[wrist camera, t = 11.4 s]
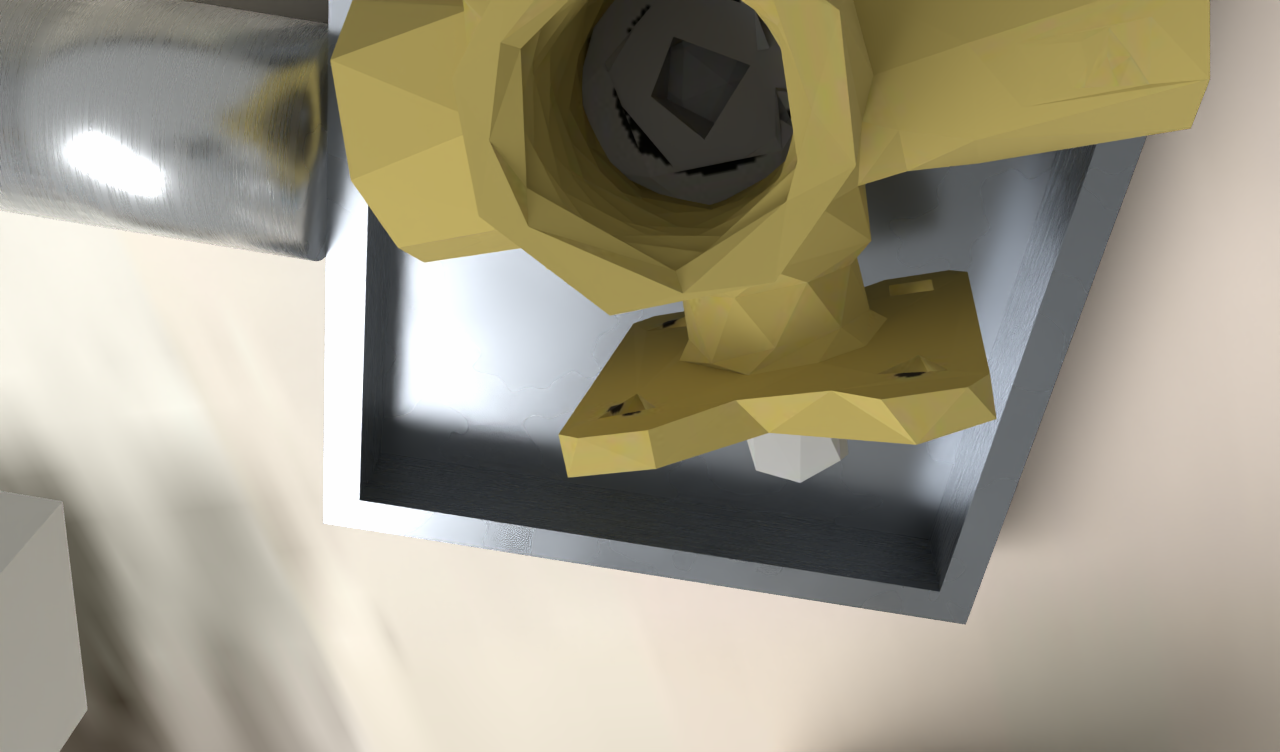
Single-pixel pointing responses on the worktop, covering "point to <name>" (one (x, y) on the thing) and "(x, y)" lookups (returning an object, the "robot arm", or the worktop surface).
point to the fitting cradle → (543, 316)
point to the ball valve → (740, 185)
